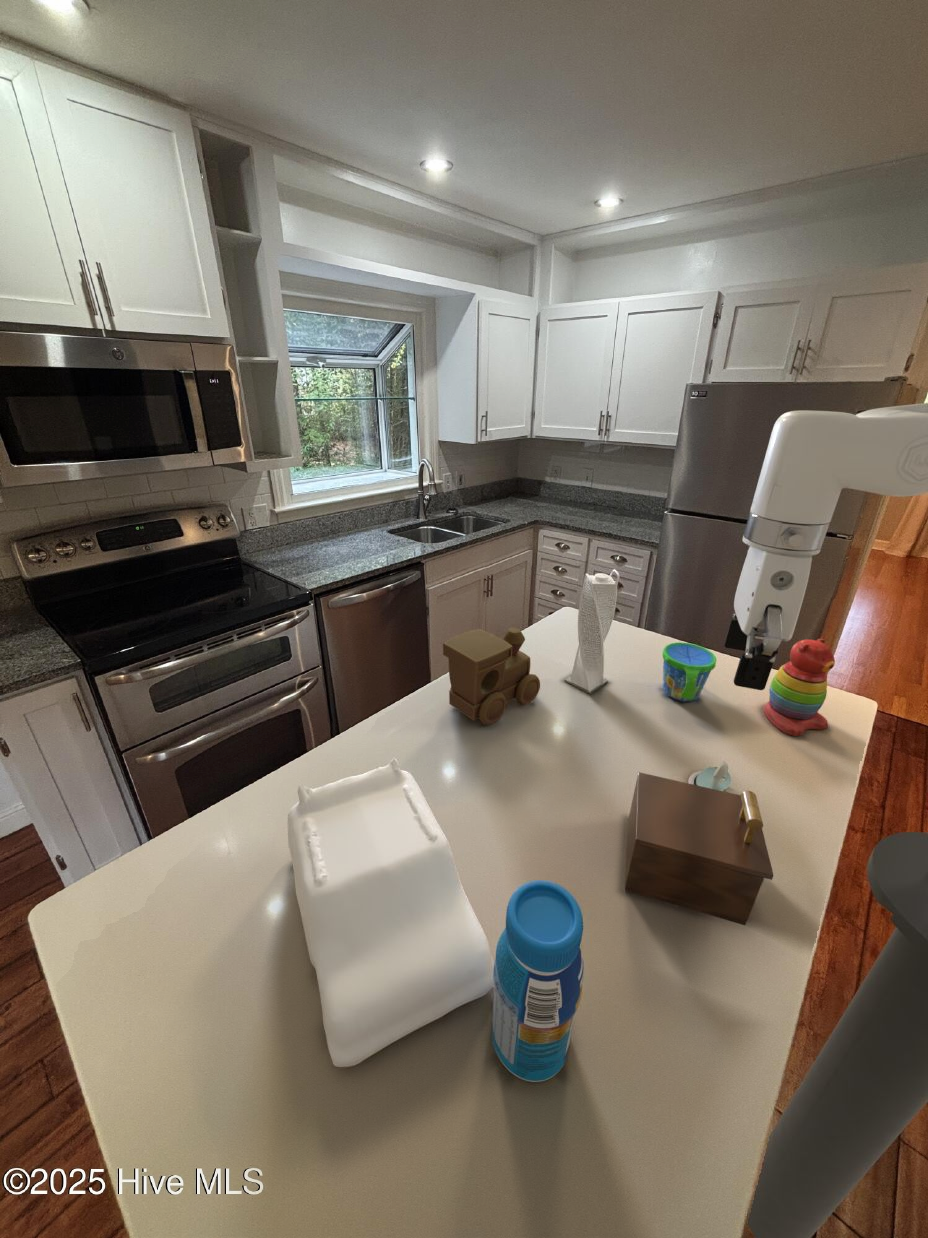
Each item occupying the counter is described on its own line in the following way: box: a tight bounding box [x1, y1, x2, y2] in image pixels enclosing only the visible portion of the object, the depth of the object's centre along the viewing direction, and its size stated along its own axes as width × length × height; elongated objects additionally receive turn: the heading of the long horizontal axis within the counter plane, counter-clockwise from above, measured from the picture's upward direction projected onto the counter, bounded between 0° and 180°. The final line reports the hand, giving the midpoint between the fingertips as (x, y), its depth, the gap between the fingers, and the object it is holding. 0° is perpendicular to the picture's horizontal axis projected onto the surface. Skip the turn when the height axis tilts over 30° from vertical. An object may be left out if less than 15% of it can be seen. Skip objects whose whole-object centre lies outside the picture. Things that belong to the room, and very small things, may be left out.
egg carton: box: [287, 757, 495, 1068], centre depth 61 cm, size 19×30×13 cm, turn 26°
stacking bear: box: [763, 638, 836, 737], centre depth 99 cm, size 11×10×18 cm
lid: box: [635, 771, 775, 881], centre depth 66 cm, size 16×13×5 cm
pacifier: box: [687, 760, 732, 791], centre depth 83 cm, size 7×6×6 cm
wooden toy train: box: [442, 627, 541, 726], centre depth 102 cm, size 20×11×17 cm, turn 131°
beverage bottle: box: [490, 879, 585, 1083], centre depth 48 cm, size 8×8×20 cm
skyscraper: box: [563, 568, 621, 694], centre depth 107 cm, size 8×8×28 cm
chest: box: [624, 776, 765, 926], centre depth 69 cm, size 15×13×9 cm
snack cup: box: [662, 642, 717, 703], centre depth 108 cm, size 16×10×10 cm
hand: (742, 666), depth 62 cm, fingers open, 9 cm apart
